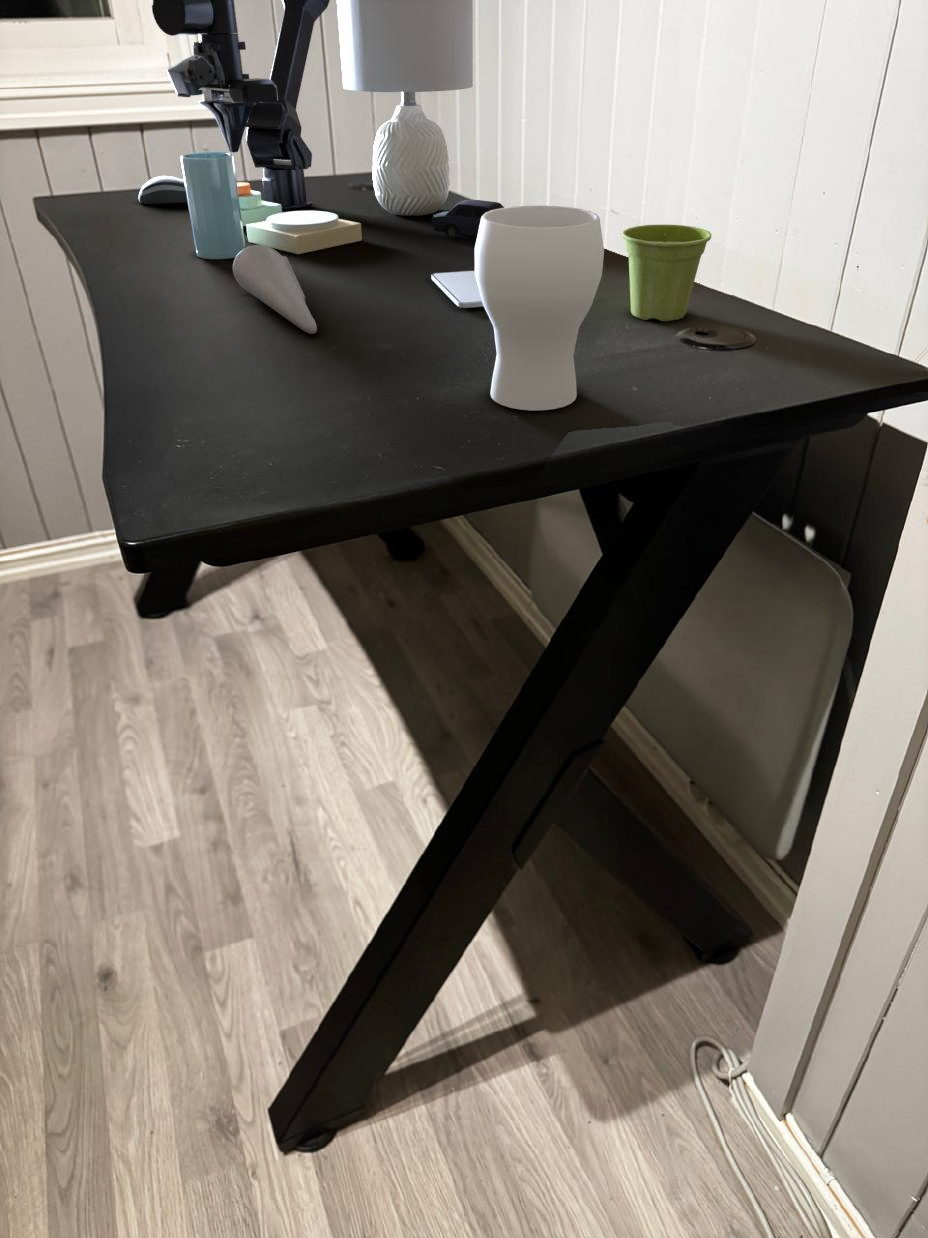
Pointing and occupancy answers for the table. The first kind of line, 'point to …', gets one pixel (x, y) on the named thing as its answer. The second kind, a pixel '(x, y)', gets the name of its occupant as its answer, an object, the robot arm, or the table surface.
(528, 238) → the cup
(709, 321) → the table surface
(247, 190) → the button
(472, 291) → the smartphone
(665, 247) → the plant pot
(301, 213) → the scale
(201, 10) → the robot arm
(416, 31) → the lamp
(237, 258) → the long tapered cone
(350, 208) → the table surface
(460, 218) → the toy car
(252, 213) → the button box
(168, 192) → the computer mouse
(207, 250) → the tumbler
